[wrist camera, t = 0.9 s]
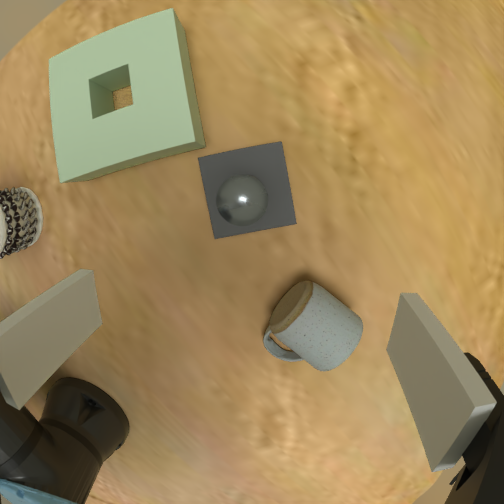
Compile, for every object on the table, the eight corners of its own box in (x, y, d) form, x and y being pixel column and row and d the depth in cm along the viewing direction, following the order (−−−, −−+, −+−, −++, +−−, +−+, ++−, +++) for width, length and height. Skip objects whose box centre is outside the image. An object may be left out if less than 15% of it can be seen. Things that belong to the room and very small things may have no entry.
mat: (215, 238, 34) (214, 239, 34) (198, 158, 32) (198, 157, 32) (296, 223, 34) (296, 223, 33) (281, 141, 32) (281, 141, 31)
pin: (235, 207, 33) (221, 230, 19) (229, 178, 32) (211, 180, 19) (265, 202, 33) (272, 220, 19) (259, 172, 32) (262, 170, 18)
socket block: (87, 180, 33) (60, 183, 27) (74, 71, 29) (48, 59, 23) (205, 147, 32) (195, 141, 26) (184, 31, 28) (172, 7, 23)
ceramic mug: (304, 266, 35) (315, 291, 28) (353, 305, 36) (373, 336, 29) (246, 331, 37) (244, 368, 30) (297, 364, 38) (303, 402, 31)
